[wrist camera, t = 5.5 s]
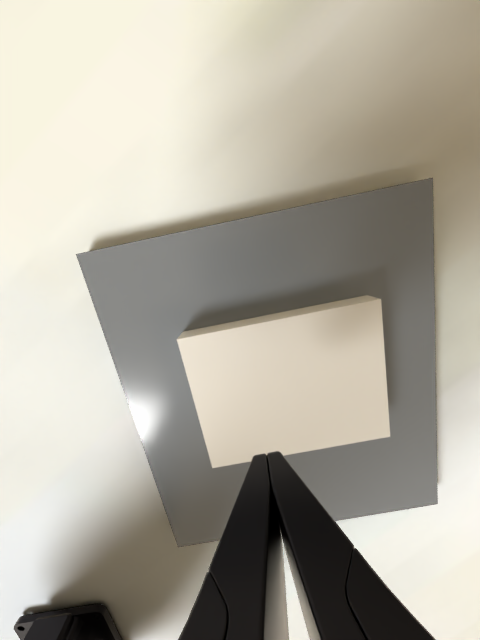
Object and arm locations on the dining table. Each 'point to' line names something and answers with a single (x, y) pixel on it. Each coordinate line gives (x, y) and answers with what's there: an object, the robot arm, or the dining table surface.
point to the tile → (289, 380)
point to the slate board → (268, 298)
